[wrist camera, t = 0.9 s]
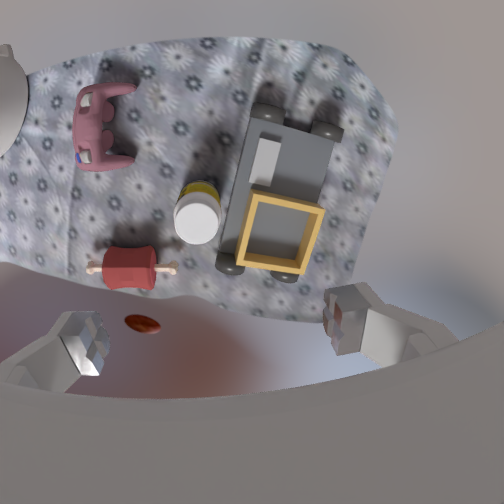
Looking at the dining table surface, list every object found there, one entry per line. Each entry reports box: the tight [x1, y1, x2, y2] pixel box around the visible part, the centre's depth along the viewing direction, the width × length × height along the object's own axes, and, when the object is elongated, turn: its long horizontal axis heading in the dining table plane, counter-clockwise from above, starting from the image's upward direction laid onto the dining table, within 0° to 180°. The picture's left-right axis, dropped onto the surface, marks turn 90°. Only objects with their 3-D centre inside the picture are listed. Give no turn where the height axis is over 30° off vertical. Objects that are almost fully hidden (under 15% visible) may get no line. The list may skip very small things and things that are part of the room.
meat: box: [86, 246, 178, 290], centre depth 33 cm, size 12×5×5 cm, turn 87°
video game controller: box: [72, 82, 137, 172], centre depth 25 cm, size 10×5×7 cm, turn 176°
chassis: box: [215, 103, 344, 283], centre depth 32 cm, size 11×19×4 cm, turn 166°
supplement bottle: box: [174, 180, 222, 244], centre depth 29 cm, size 5×5×8 cm
